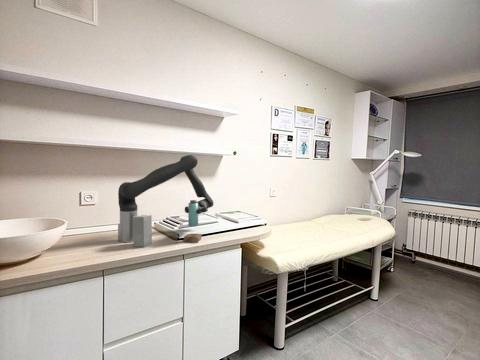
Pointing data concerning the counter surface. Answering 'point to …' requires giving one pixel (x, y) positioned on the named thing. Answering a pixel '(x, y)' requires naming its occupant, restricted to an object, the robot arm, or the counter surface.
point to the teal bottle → (192, 213)
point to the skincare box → (142, 230)
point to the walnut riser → (192, 238)
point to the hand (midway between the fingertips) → (192, 211)
